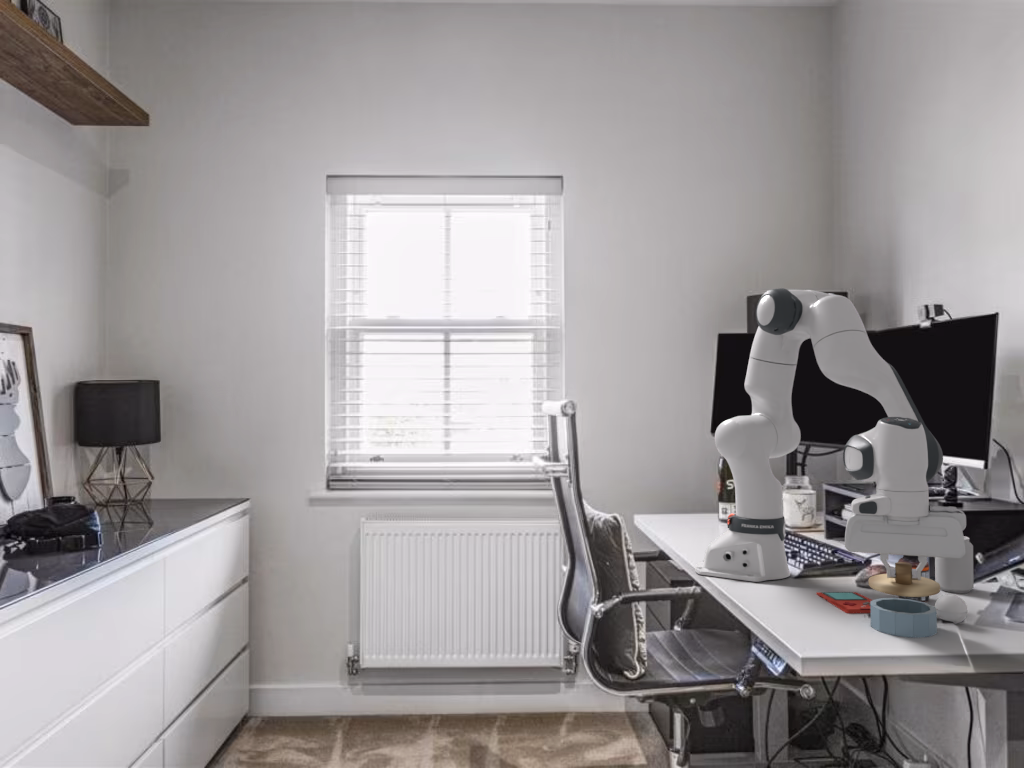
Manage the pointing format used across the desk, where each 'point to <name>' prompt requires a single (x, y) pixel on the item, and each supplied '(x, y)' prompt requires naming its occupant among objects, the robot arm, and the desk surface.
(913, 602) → the bowl
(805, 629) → the desk surface
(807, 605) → the desk surface
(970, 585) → the can
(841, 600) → the handheld gaming console
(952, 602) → the white rounded lump
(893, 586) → the lid
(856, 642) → the desk surface
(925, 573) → the supplement bottle
